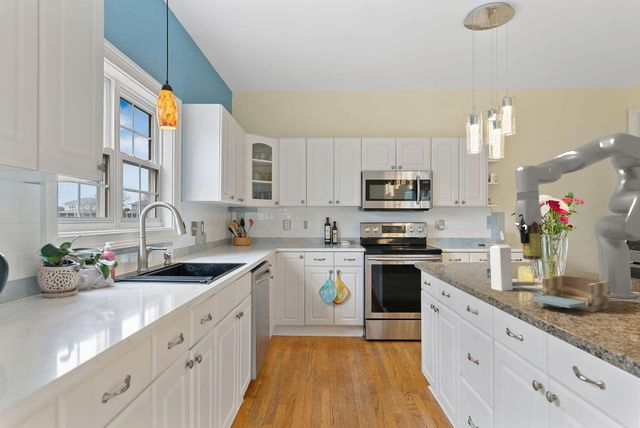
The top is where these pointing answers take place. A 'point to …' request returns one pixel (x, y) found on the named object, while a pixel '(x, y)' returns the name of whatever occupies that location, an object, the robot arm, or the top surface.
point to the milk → (501, 266)
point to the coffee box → (488, 267)
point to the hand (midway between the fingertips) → (530, 242)
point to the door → (558, 301)
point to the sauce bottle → (532, 243)
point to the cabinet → (579, 291)
